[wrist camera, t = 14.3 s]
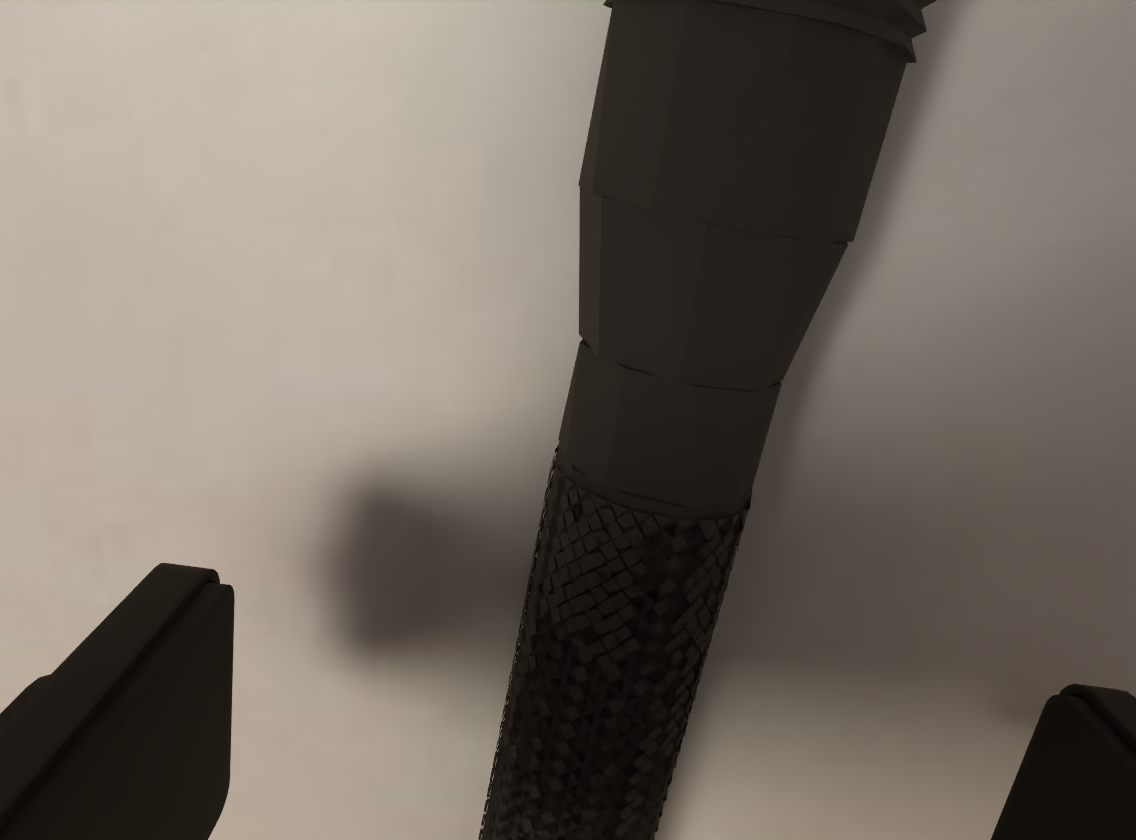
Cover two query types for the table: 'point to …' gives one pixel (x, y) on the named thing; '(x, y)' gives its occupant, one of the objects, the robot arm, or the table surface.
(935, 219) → the table surface
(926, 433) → the table surface
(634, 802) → the flashlight
